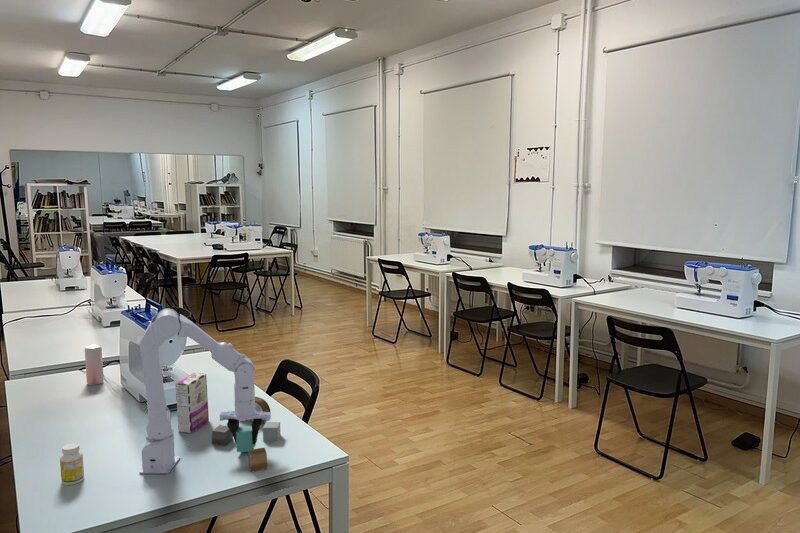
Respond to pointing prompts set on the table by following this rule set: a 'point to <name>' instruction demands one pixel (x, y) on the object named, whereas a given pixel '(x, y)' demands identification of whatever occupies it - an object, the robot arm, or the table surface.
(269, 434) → the slate-grey block
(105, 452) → the table surface
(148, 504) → the table surface
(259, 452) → the walnut block
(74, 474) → the supplement bottle
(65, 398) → the table surface
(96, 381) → the beverage can
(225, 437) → the charcoal block
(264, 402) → the tin
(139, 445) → the table surface
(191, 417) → the candy bar box
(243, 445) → the teal block
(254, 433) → the robot arm
